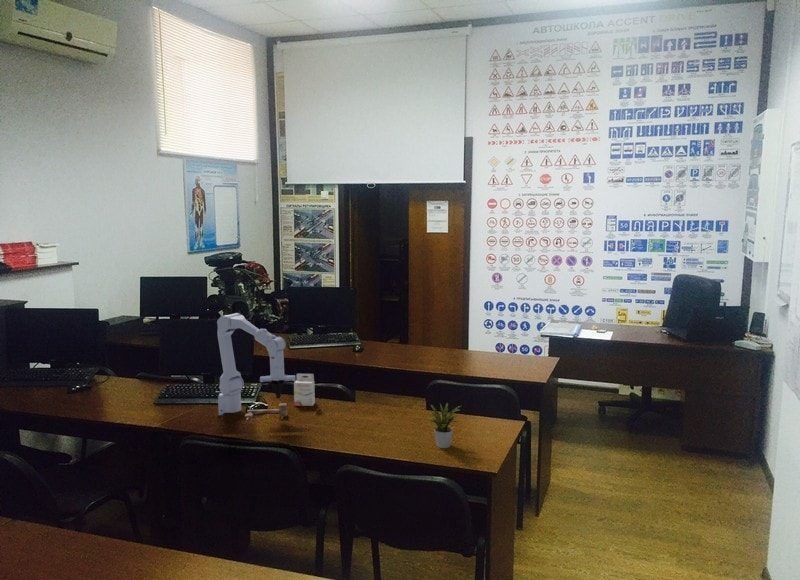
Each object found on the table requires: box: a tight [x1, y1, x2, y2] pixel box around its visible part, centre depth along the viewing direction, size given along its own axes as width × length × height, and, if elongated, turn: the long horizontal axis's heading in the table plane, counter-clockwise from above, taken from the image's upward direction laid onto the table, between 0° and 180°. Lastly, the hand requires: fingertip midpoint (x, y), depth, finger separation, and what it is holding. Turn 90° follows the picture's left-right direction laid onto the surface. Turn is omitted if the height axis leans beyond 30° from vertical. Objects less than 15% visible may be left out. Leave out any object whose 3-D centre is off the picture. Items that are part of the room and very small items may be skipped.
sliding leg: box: [278, 402, 288, 420], centre depth 267 cm, size 3×10×5 cm, turn 2°
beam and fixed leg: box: [244, 408, 279, 421], centre depth 267 cm, size 17×10×2 cm, turn 92°
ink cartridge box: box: [293, 373, 316, 407], centre depth 282 cm, size 9×5×15 cm, turn 84°
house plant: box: [426, 402, 461, 449], centre depth 229 cm, size 14×14×16 cm
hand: (278, 397), depth 263 cm, fingers closed
